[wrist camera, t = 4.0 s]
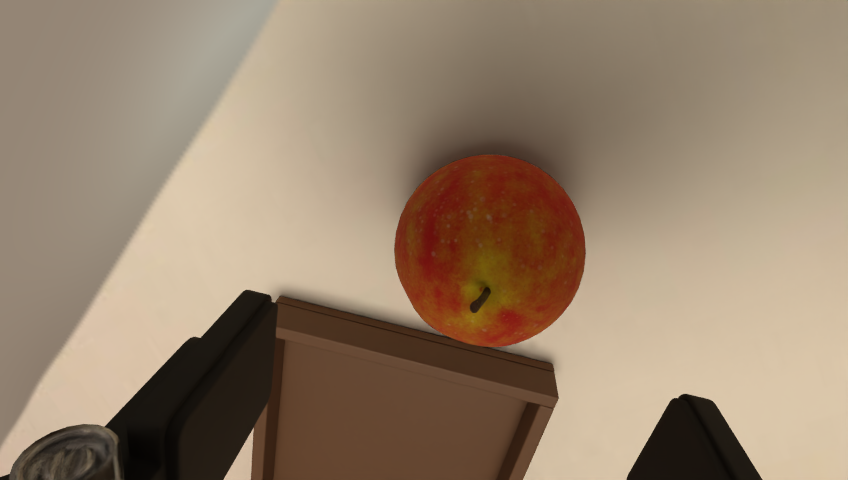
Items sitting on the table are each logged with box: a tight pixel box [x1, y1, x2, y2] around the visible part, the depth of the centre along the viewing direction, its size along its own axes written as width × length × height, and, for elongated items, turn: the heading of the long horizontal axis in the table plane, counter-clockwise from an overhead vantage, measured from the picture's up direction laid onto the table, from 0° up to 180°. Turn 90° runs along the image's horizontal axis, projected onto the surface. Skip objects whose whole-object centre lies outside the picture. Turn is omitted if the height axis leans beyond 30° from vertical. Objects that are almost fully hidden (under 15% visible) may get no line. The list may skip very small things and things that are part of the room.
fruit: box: [394, 155, 586, 347], centre depth 17 cm, size 7×7×8 cm
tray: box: [251, 296, 559, 480], centre depth 26 cm, size 17×14×2 cm
